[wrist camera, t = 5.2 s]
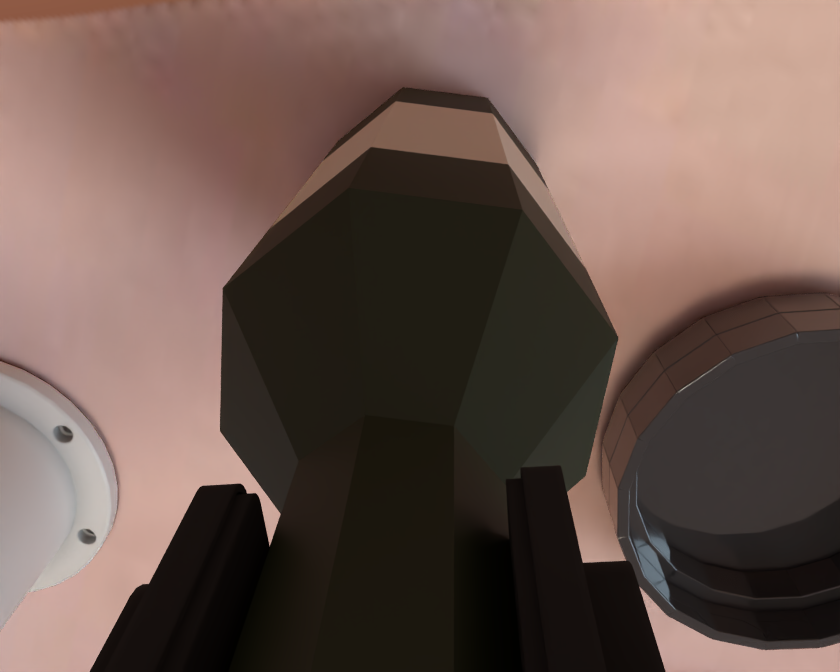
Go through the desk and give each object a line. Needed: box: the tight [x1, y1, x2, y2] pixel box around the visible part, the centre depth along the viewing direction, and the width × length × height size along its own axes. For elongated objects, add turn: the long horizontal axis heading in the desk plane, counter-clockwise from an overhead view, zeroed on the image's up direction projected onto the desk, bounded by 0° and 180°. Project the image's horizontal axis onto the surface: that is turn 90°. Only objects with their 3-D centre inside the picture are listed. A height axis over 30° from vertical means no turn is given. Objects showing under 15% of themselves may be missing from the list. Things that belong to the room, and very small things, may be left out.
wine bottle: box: [220, 87, 618, 672], centre depth 18 cm, size 8×8×30 cm
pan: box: [602, 293, 840, 650], centre depth 33 cm, size 15×15×4 cm
